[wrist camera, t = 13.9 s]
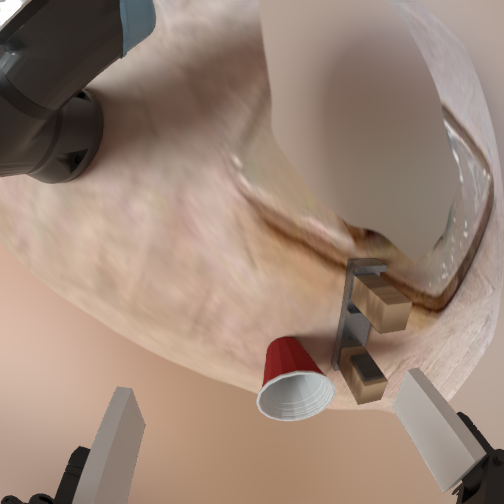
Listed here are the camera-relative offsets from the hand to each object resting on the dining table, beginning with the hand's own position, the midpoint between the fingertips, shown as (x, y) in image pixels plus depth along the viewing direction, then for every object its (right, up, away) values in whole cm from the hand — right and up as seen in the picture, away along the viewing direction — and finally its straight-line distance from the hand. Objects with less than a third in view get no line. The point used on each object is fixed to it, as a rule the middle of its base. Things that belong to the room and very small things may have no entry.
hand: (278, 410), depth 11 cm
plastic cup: (+4, -9, +33) cm, 35 cm away
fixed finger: (+16, -11, +32) cm, 37 cm away
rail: (+16, -4, +32) cm, 36 cm away
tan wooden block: (+16, +2, +29) cm, 33 cm away
